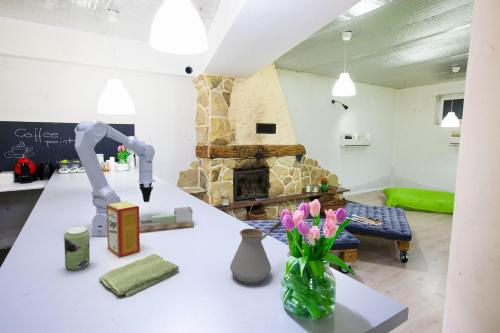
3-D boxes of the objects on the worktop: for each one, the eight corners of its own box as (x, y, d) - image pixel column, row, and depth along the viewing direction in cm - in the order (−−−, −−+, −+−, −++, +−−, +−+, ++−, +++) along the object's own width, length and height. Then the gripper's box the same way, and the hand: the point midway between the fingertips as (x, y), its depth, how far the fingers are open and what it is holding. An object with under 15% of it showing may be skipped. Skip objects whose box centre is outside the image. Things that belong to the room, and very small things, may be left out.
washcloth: (96, 283, 70) (95, 271, 70) (156, 260, 84) (155, 250, 84) (120, 303, 62) (120, 290, 62) (182, 274, 76) (182, 263, 76)
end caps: (138, 228, 109) (138, 214, 108) (138, 224, 114) (138, 210, 114) (192, 223, 118) (192, 210, 117) (189, 219, 123) (189, 206, 123)
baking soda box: (107, 249, 91) (106, 203, 89) (127, 244, 96) (126, 200, 94) (119, 257, 84) (118, 208, 83) (139, 251, 89) (138, 205, 88)
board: (138, 233, 106) (138, 230, 106) (138, 224, 117) (138, 222, 117) (193, 227, 115) (193, 225, 115) (188, 219, 126) (188, 217, 126)
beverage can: (85, 259, 82) (83, 222, 81) (94, 267, 78) (93, 227, 77) (61, 267, 78) (59, 227, 76) (70, 275, 73) (68, 233, 72)
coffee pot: (247, 292, 67) (249, 235, 65) (221, 274, 76) (222, 223, 74) (302, 268, 81) (304, 219, 79) (274, 255, 89) (276, 211, 88)
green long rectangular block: (151, 226, 112) (151, 217, 112) (151, 223, 115) (151, 216, 115) (183, 222, 118) (183, 215, 117) (182, 220, 120) (182, 213, 120)
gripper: (156, 172, 116) (156, 203, 118) (153, 168, 130) (154, 196, 131) (138, 172, 113) (139, 204, 115) (138, 169, 127) (138, 197, 128)
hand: (146, 200), depth 123 cm, fingers open, 7 cm apart
